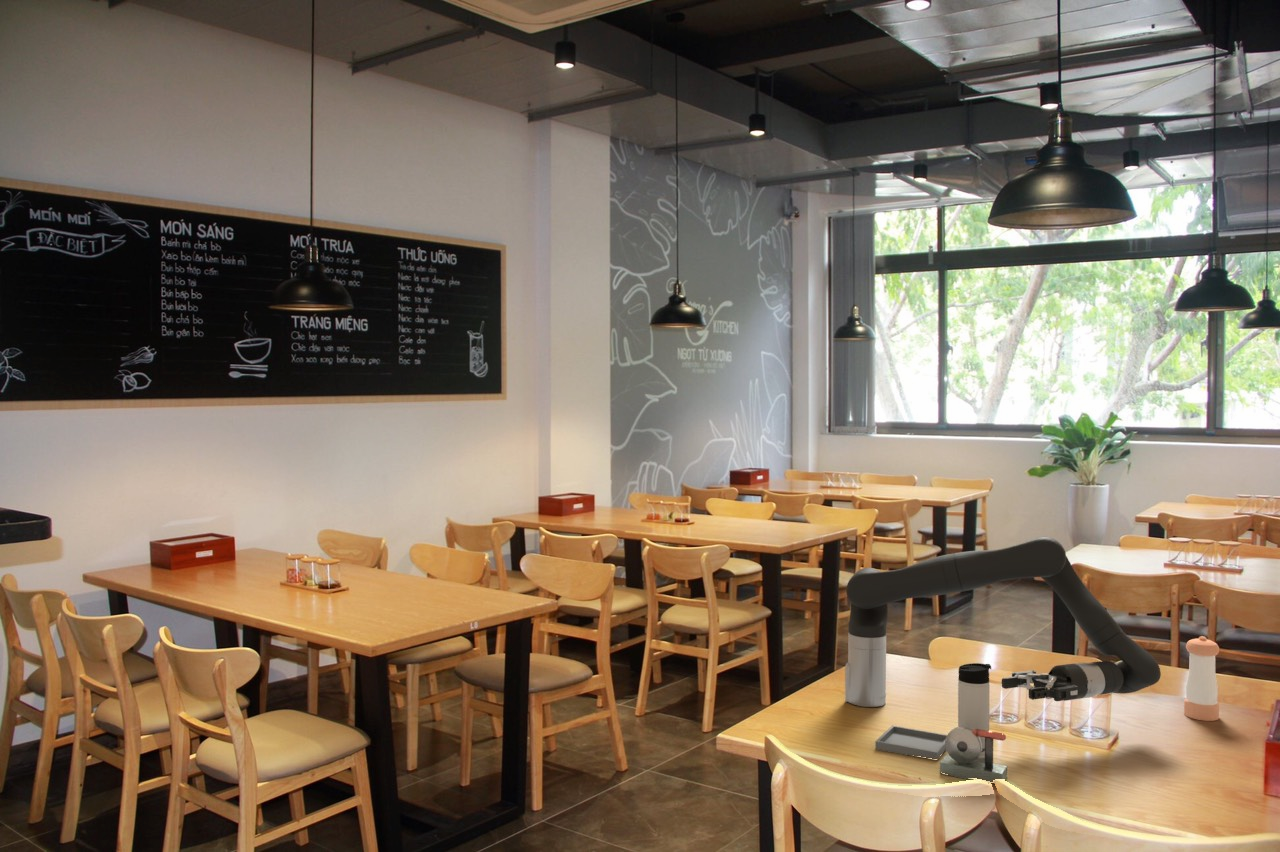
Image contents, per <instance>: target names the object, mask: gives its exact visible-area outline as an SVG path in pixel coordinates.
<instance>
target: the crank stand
mask: <svg viewBox="0 0 1280 852" xmlns="http://www.w3.org/2000/svg"><path fill="white" fill-rule="evenodd" d="M946 735H947V736H946V739H945V748H946V751H945V752H946V753H947V754H946V755H945V756H943V758H942V759H941V760H940V761H939V773H940V772H942V773H945V774H948V775H952V776H951V777H953V776H954V778H958V779H959V778H960V779H965V780H968V778H977V779H982V780H986V781H990V782H993V780H995V779H1006V780H1007V778H1008V765H1005V764H998V763H994V740H996V741H1006V739H1007V736H1006V734H1005V733H1003V732H998V731H990V730H989V731H986V730H980V729H974V730H972V729H970V728H967V727H958V726H957V727H954V728H952V729H951V730H950V731H949V732H948V734H946ZM980 737H984V738H985V762H984V761H978V760H976V759H977V758H978V757H979V755H980V754H981V751H982V742H981V739H980ZM948 775H947V776H948Z"/></svg>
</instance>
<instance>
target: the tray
mask: <svg viewBox="0 0 1280 852" xmlns="http://www.w3.org/2000/svg"><path fill="white" fill-rule="evenodd" d="M947 735H948V734H943V733H938V732H932V731H927V730H921V729H915V728H911V727H910V728H909V727H904V726H898V725H893V724H892V725H891V726H890V727H889V728H888V729H887V730H886V731H884V733H883V734H882V735H880V736H879V737H878V738H877V739H875V743H874V744H875V747H874V748H875V749H874V750H876V749H877V750H876V751H881V750H883V751H882V752H886V751H889V752H888V753H891V752H894V753H893V754H897V753H900V754H899V755H902V754H905V755H904V756H907V755H914V756H921V757H926V758H932V759H938V758H939V757H940V755H941V754H942V753H943V752H944V751H945V750H946V748H945V739H946V736H947ZM945 752H946V751H945ZM945 752H944V753H945ZM944 753H943V754H944ZM906 754H907V755H906ZM943 754H942V755H943ZM940 758H941V757H940ZM940 758H939V759H940ZM939 759H938V760H939Z"/></svg>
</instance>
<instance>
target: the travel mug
mask: <svg viewBox="0 0 1280 852" xmlns="http://www.w3.org/2000/svg"><path fill="white" fill-rule="evenodd" d="M989 670H992V665H991V664H989V663H977V662H976V663H975V662H974V663H966V664H961V665H960V666H959V667H958V679H957V680H958V683H957V684H958V685H957V686H958V687H957V689H958V690H957V695H958V696H957V702H958V703H957V709H958V710H957V711H958V712H957V719H958V720H957V727H967V728H970V729H972V730H974V729H980V730H986V731H990V671H989ZM980 739H981V742H982V751H981V754H980V755H979V757H978V758H977V759H976V760H978V761H984V762H985V738H984V737H980Z"/></svg>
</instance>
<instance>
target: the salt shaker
mask: <svg viewBox="0 0 1280 852" xmlns="http://www.w3.org/2000/svg"><path fill="white" fill-rule="evenodd" d="M1185 649H1186V650H1187V652H1188V653H1189V657H1188V658H1189V659H1188V661H1189V662H1188V663H1189V666H1188V673H1187V674H1188V675H1187V677H1186V678H1187V679H1186V685H1185V693H1186V695H1185V698H1184V700H1183V704H1184V705H1183V707H1184V709H1183V714H1184V716H1186V717H1187V718H1189V719H1194V720H1199V721H1207V722H1211V721H1212V722H1214V721H1218V720H1219V719H1220V704H1219V702H1218V692H1219V691H1218V690H1219V688H1218V687H1219V686H1218V681H1217V676H1216V674H1217V673H1216V656H1218V655H1219V653H1220V646H1219V645H1218V643H1216V642H1215V641H1213V640H1211V639H1207V637H1206V636H1203V635H1201V636H1199V637H1198V638H1192V639H1190V640H1188V641H1187V642H1186V645H1185Z"/></svg>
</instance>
